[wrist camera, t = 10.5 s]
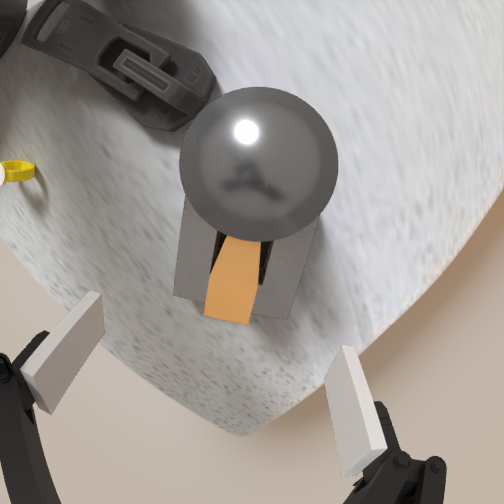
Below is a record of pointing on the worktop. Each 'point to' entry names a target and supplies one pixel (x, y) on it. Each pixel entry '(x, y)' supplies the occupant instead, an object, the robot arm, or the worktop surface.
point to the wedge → (233, 281)
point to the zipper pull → (128, 63)
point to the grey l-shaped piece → (254, 189)
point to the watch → (16, 171)
